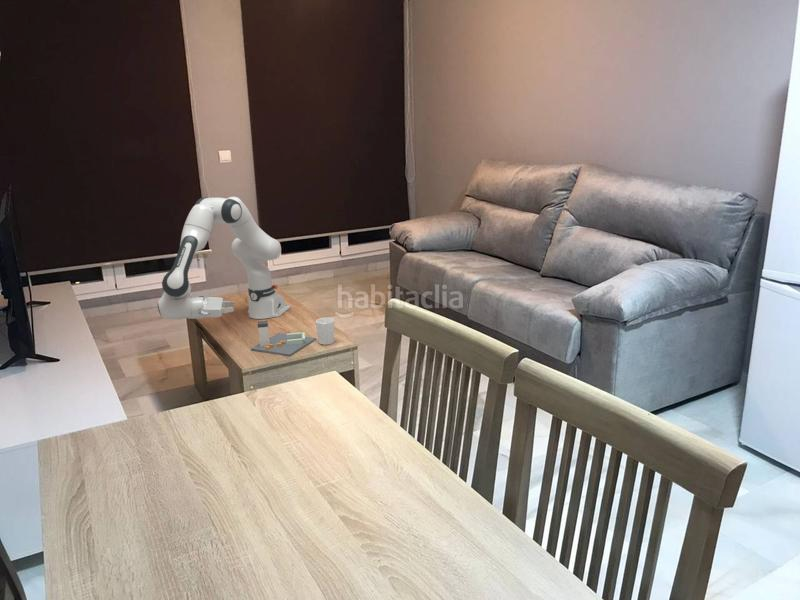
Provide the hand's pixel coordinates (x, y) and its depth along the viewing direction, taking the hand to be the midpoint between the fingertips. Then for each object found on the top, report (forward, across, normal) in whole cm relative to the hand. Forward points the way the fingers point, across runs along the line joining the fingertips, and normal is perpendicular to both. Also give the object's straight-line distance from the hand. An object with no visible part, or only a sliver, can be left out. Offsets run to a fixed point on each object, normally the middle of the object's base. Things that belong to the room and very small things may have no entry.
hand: (233, 306), depth 274 cm
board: (+20, 0, +18) cm, 27 cm away
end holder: (+25, +1, +17) cm, 31 cm away
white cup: (+38, -3, +17) cm, 42 cm away
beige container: (+12, +1, +18) cm, 21 cm away
